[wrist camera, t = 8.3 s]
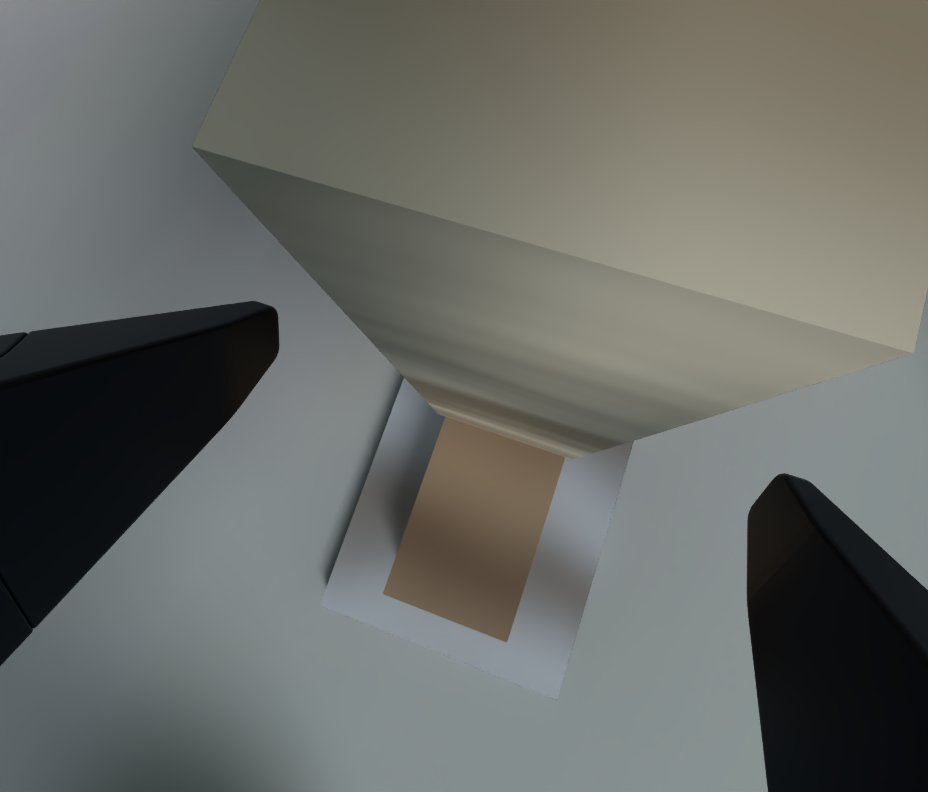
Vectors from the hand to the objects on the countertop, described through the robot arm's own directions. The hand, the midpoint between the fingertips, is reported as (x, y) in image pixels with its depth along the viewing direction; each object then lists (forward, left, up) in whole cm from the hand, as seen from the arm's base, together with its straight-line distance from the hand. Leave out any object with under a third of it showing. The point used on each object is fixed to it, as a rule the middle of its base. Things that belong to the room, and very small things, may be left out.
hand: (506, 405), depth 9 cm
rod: (+2, 0, -7) cm, 8 cm away
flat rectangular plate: (+2, 0, -11) cm, 11 cm away
